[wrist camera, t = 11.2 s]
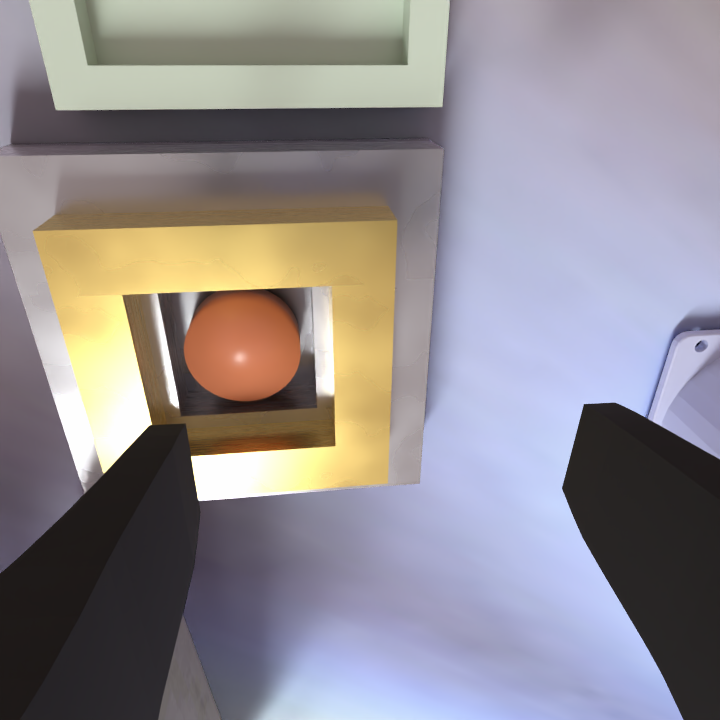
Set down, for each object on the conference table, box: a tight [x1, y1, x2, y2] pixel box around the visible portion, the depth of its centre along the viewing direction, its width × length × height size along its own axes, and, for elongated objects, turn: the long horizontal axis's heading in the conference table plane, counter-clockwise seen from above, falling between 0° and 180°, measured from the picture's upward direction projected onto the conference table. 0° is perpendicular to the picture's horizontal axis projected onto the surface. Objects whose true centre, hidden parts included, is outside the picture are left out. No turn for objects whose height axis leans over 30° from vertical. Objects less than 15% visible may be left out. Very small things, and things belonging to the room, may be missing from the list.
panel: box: [0, 138, 444, 501], centre depth 18 cm, size 12×12×4 cm
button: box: [184, 289, 300, 401], centre depth 18 cm, size 4×4×1 cm
